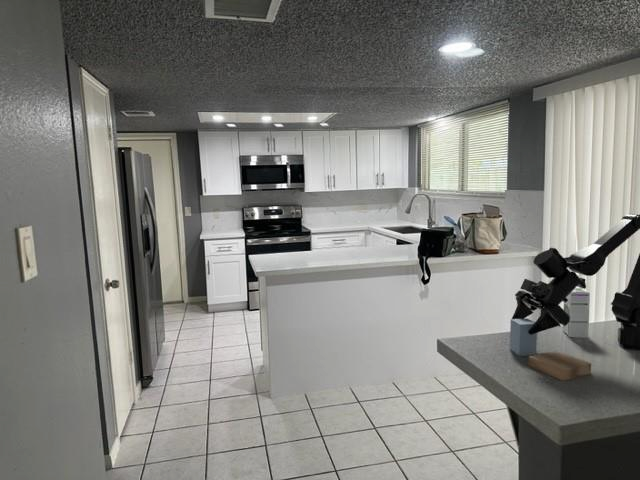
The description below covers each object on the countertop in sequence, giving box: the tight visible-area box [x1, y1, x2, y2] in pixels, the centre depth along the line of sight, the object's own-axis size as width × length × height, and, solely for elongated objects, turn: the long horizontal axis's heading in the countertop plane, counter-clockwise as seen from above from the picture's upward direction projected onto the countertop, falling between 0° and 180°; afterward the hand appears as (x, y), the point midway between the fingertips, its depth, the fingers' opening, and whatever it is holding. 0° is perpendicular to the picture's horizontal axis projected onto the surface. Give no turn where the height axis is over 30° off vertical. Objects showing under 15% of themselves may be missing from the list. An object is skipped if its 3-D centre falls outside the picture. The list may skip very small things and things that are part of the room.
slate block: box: [509, 317, 538, 357], centre depth 124 cm, size 5×5×9 cm
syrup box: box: [562, 287, 591, 339], centre depth 137 cm, size 6×6×14 cm
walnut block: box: [528, 350, 592, 382], centre depth 112 cm, size 10×10×3 cm
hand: (519, 328), depth 124 cm, fingers open, 9 cm apart
